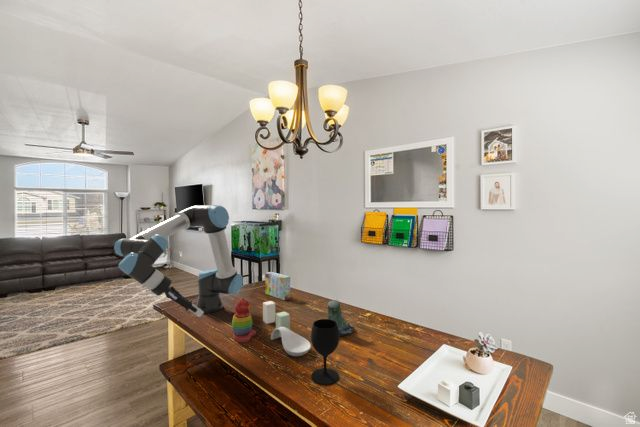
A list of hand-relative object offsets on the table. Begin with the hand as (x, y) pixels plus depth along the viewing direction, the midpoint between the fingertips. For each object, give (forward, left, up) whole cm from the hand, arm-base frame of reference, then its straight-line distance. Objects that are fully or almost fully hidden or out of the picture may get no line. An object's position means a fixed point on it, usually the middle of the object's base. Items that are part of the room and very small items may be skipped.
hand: (201, 314), depth 130 cm
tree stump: (+19, +60, -15) cm, 65 cm away
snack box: (-45, +59, -15) cm, 76 cm away
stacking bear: (0, +19, -15) cm, 24 cm away
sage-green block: (+8, +36, -15) cm, 40 cm away
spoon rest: (+21, +32, -16) cm, 41 cm away
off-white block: (-10, +37, -15) cm, 41 cm away
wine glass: (+48, +33, -15) cm, 60 cm away
